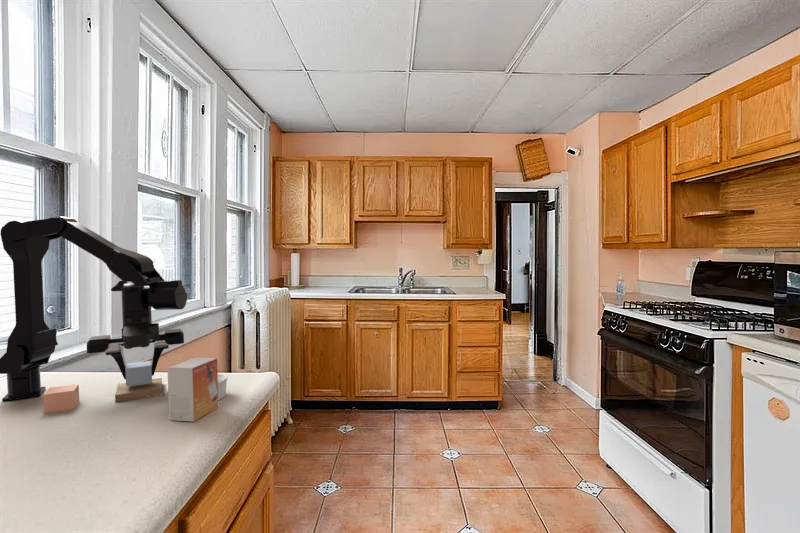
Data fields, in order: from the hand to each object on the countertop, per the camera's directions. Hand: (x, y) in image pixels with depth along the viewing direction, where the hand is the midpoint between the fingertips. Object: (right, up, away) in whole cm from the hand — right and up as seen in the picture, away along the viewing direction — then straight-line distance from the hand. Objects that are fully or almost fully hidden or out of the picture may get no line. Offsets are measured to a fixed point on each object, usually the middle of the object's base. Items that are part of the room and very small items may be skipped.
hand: (139, 377), depth 99 cm
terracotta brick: (-11, -4, -8) cm, 15 cm away
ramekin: (+17, -4, -4) cm, 18 cm away
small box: (+19, -4, -13) cm, 24 cm away
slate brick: (0, -1, 0) cm, 1 cm away
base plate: (0, -4, 0) cm, 4 cm away
